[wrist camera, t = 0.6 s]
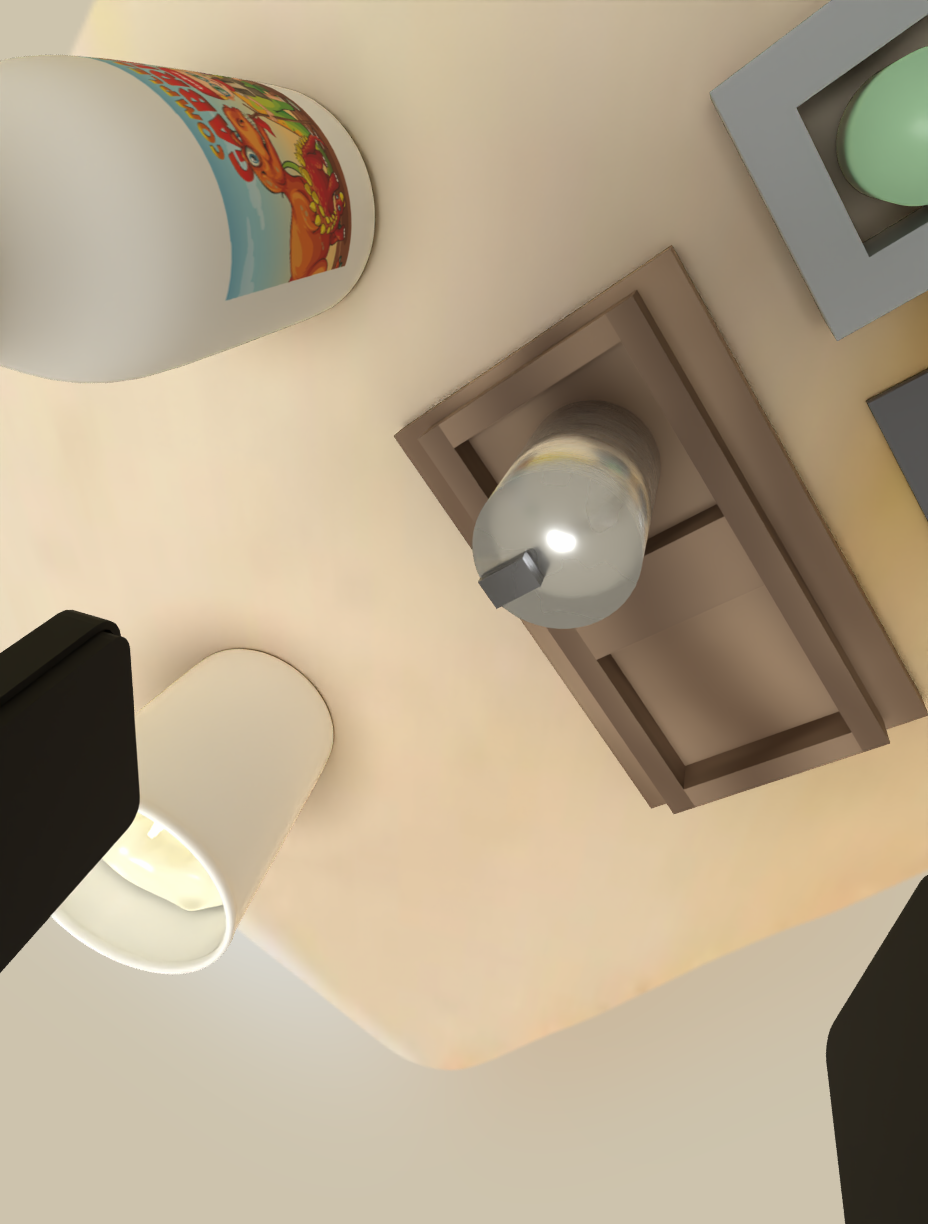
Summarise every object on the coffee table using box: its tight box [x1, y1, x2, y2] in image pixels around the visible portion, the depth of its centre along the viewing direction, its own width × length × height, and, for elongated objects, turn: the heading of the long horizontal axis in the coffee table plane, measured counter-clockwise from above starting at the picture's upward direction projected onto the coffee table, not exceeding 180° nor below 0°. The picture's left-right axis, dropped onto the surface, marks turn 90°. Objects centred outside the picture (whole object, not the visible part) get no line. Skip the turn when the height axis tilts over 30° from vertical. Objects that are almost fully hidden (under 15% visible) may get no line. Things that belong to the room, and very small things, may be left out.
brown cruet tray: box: [394, 245, 928, 814], centre depth 32 cm, size 12×20×3 cm, turn 35°
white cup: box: [51, 649, 333, 974], centre depth 38 cm, size 10×10×12 cm
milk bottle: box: [0, 55, 375, 383], centre depth 22 cm, size 8×8×20 cm
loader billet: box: [472, 400, 661, 629], centre depth 27 cm, size 5×5×9 cm
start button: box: [836, 46, 928, 206], centre depth 23 cm, size 4×4×4 cm
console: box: [709, 0, 928, 341], centre depth 24 cm, size 8×8×3 cm
